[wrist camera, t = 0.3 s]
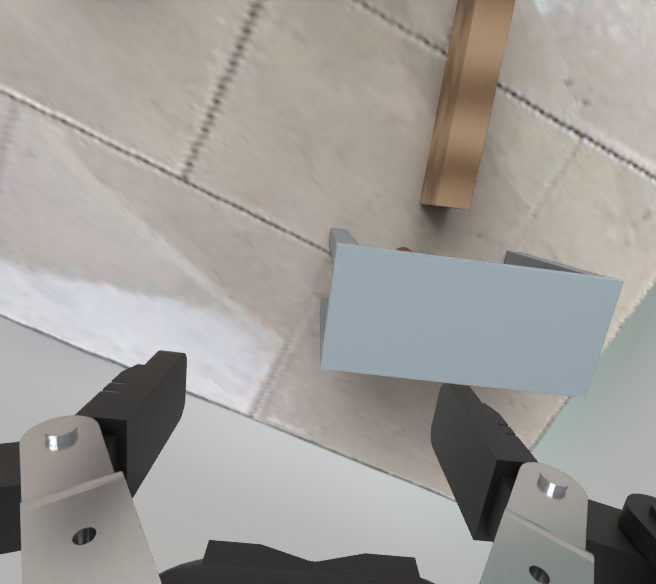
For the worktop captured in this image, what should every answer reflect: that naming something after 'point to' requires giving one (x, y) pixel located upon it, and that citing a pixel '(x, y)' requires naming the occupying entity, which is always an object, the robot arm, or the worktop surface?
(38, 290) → the worktop surface
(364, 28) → the worktop surface
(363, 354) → the small grey table
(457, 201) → the batten
